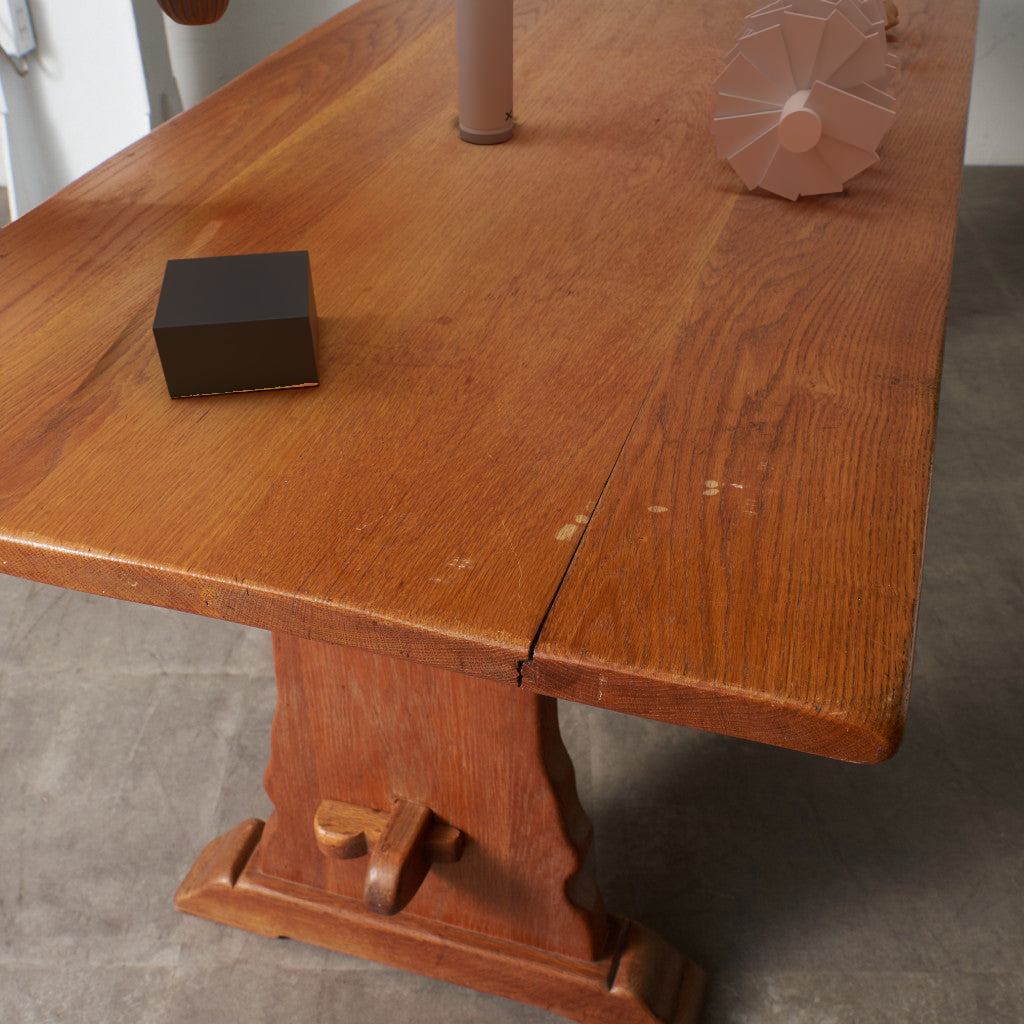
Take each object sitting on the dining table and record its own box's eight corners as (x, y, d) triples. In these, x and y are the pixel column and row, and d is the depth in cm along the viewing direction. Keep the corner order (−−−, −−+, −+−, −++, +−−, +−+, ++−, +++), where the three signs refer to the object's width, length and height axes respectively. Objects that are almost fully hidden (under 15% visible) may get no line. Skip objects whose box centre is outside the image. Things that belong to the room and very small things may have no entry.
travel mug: (524, 139, 117) (526, -56, 104) (472, 148, 115) (467, -50, 102) (501, 122, 121) (500, -66, 108) (451, 131, 119) (444, -61, 106)
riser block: (170, 399, 75) (151, 328, 71) (183, 326, 83) (167, 259, 80) (319, 386, 76) (309, 315, 73) (317, 316, 85) (308, 249, 81)
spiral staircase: (735, 241, 105) (757, 145, 123) (913, 187, 97) (909, 93, 114) (675, 72, 96) (708, -5, 113) (867, -4, 87) (870, -75, 105)
